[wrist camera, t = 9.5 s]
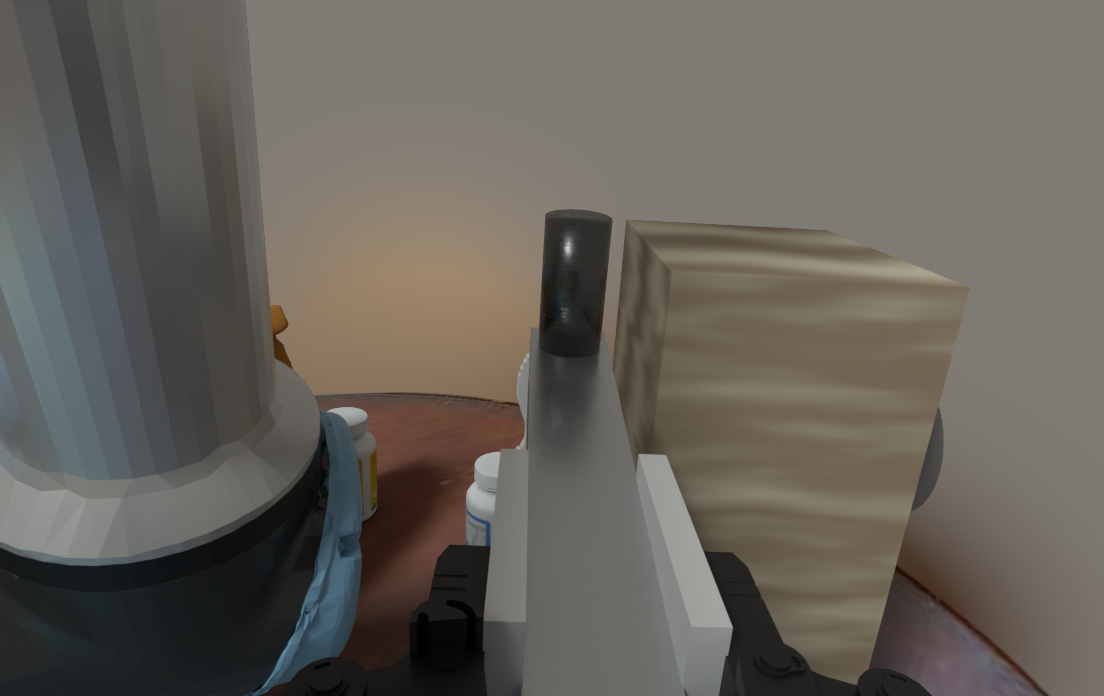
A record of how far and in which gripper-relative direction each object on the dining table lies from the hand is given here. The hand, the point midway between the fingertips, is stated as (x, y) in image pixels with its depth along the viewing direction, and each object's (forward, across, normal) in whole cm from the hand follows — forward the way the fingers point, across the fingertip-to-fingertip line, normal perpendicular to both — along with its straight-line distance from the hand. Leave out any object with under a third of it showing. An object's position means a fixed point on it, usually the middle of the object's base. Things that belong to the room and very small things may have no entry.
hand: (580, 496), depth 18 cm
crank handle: (0, 0, -2) cm, 2 cm away
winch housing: (+17, +12, -26) cm, 33 cm away
